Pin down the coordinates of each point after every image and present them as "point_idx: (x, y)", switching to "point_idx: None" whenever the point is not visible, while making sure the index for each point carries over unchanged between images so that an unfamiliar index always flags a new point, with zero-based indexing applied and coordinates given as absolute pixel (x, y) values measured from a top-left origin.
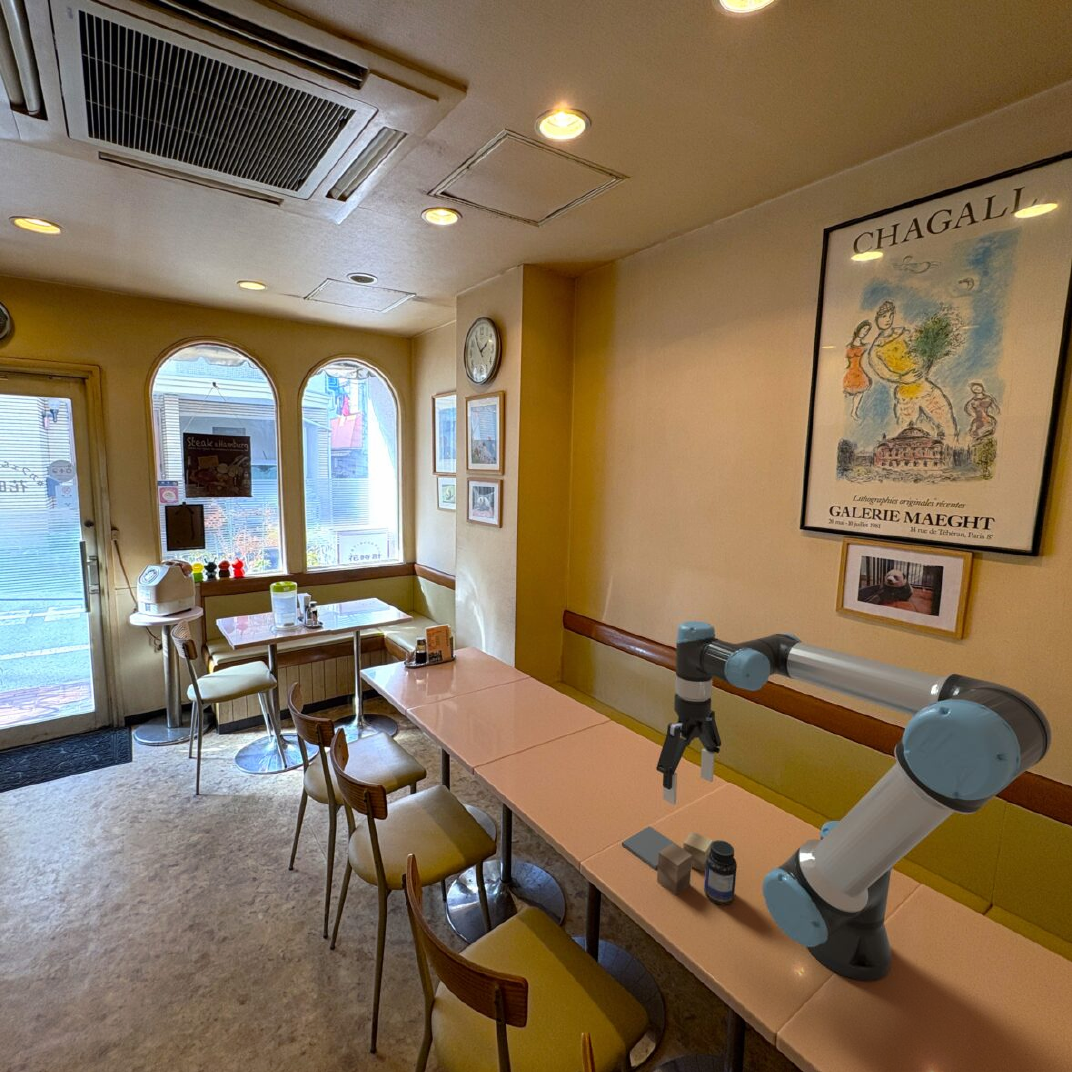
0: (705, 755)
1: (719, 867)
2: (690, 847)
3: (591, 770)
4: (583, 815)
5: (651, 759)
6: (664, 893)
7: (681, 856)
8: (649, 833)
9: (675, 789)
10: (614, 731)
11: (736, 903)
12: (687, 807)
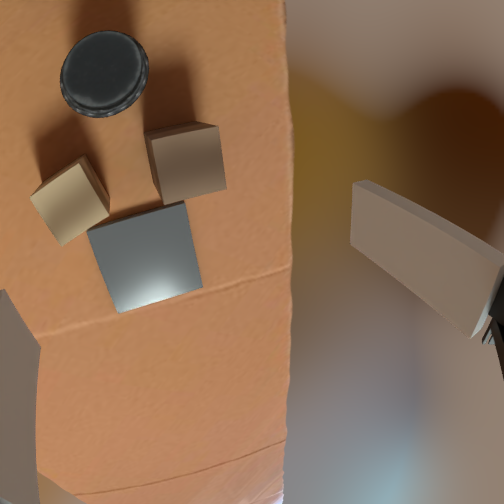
0: (14, 472)
1: (139, 48)
2: (99, 197)
3: (141, 440)
4: (216, 362)
5: None
6: None
7: (182, 149)
8: (131, 294)
9: (423, 213)
10: (69, 484)
11: None
12: None
